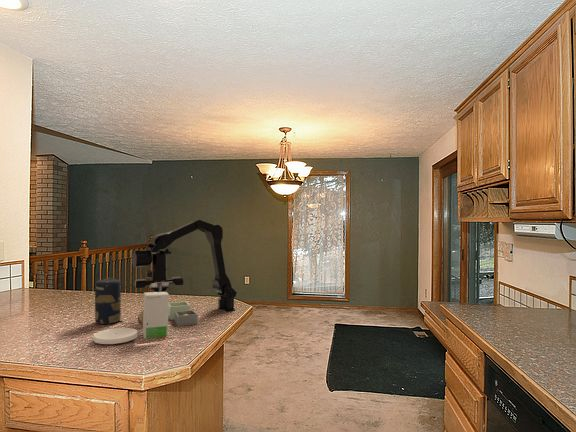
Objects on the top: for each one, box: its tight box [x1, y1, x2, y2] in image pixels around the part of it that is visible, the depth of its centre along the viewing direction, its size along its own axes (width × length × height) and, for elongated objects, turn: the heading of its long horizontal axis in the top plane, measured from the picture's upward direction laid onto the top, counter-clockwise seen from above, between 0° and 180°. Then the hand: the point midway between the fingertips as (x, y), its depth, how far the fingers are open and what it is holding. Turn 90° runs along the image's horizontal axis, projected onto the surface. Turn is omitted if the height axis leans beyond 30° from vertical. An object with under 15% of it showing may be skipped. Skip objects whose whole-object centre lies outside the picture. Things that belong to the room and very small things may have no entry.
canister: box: [94, 277, 122, 325], centre depth 162 cm, size 10×10×18 cm
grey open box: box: [174, 309, 199, 327], centre depth 159 cm, size 8×8×4 cm
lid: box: [137, 310, 143, 324], centre depth 164 cm, size 9×9×2 cm
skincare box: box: [142, 291, 170, 340], centre depth 143 cm, size 8×7×16 cm
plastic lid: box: [93, 327, 138, 345], centre depth 139 cm, size 14×14×2 cm
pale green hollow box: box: [168, 300, 191, 321], centre depth 169 cm, size 8×8×6 cm
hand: (159, 303), depth 165 cm, fingers closed
